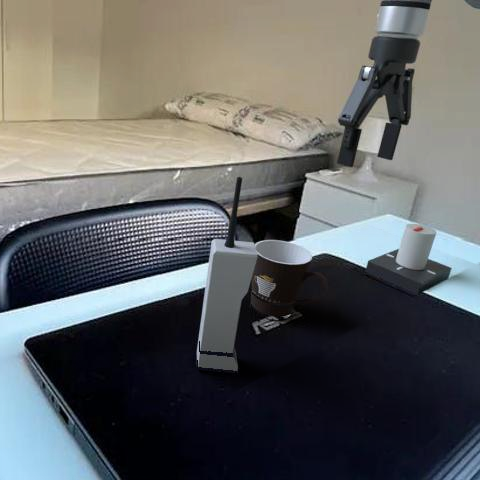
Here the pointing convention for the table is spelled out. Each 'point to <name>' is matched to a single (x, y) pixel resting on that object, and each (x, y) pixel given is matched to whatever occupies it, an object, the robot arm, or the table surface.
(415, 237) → the timer knob
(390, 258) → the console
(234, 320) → the vintage mobile phone
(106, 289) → the table surface
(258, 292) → the coffee mug
